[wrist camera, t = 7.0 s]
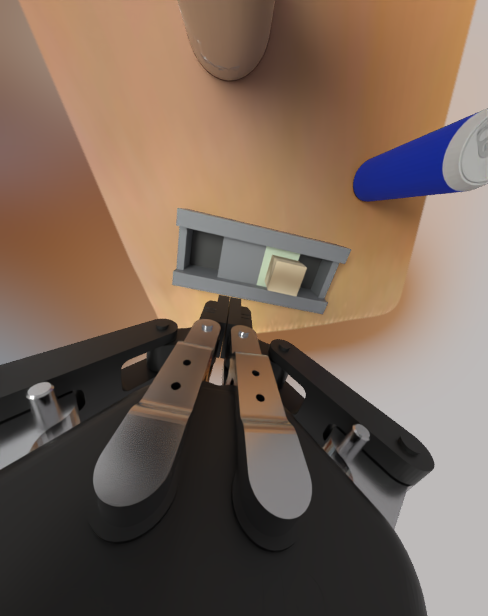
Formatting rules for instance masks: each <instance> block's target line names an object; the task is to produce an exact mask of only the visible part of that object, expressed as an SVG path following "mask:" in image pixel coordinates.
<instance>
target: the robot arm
mask: <svg viewBox="0 0 488 616" xmlns="http://www.w3.org/2000/svg"><path fill="white" fill-rule="evenodd" d="M177 1H178V5H179V8H180V11H181V15H182V18H183V21H184V25H185V28H186V31H187V35H188V38H189V41H190V44H191V46H192V49H193V51H194V53H195V55H196V57H197V59H198V60H199V62H200V63H201V64H202V66H203V67H204V68H205V69H206V70H207V71H208V72H210V73H211V74H212V75H213V76H215V77H218V78H220V79H223V80H229V81H230V80H238V79H240V78H242V77H244V76H246V75H247V74H249V73H250V72H251V71H252V70H253V69H254V68H255V67H256V66H257V64H258V63H259V62H260V60H261V58H262V56H263V54H264V52H265V50H266V47H267V44H268V41H269V35H270V29H271V24H272V17H273V11H274V5H275V0H177ZM229 299H230V302H229ZM222 342H223V343H222ZM221 347H222V350H221ZM146 352H147V358H146V359H144V360H142V361H139V362H137V363H135V364H133V365H130V366H128V367H126V368H124V369H121V367H122V365H123V364H124V363H125V362H126V361H128V360H129V359H132V358H134V357H136V356H139V355H141V354H144V353H146ZM220 352H221V358H224V364H223V369H222V385H221V386H218V385H214V384H212V383H209V379H210V376H211V373H212V369H213V364H214V363H215V360H216V357H217V358H219V356H220ZM288 374H289V375H290V376H291V377H292V378H293V379H294V380H296V381H297V382H298V383H299V384H300V385H301V386H302V387H303V388H304V390H305V392H306V398H305V399H304V398H303V397H302V396H301V395H300V394H299V393H298V392H297V391H296V390H295V389H294V388H293V387H292V386H290V385H289V384H288V383H287V382H286V378H287V376H288ZM433 469H434V461H433V458H432V456H431V454H430V453H429V451H428V450H427V448H426V447H425V446H424V445H423V444H422V443H421V442H420V441H419V440H418V439H417V438H416V437H415V436H413V435H412V434H411V433H409V432H408V431H407V430H405V429H404V428H403V427H401V426H400V425H399V424H397V423H396V422H395V421H393V420H392V419H391V418H389V417H388V416H387V415H385V414H384V413H383V412H381V411H380V410H379V409H377V408H376V407H375V406H373V405H372V404H371V403H369V402H368V401H367V400H365V399H364V398H363V397H361V396H360V395H359V394H357V393H356V392H355V391H353V390H352V389H351V388H349V387H348V386H347V385H345V384H344V383H343V382H342V381H340V380H339V379H338V378H336V377H335V376H333V375H332V374H331V373H330V372H328V371H327V370H325V369H324V368H323V367H322V366H320V365H319V364H318V363H316V362H315V361H314V360H312V359H311V358H310V357H308V356H307V355H306V354H304V353H303V352H302V351H300V350H299V349H298V348H296V347H295V346H294V345H292V344H291V343H289V342H287V341H285V340H280V339H276V340H273V341H272V342H271V344H267V343H265V342H262V341H260V340H259V339H258V338H257V334H256V332H255V331H254V330H253V329H252V320H251V311H250V310H249V309H248V308H247V307H242V306H241V299H237V298H232V297H231V298H230V297H227V296H222V295H219V298H218V302H216V301H211V300H210V301H208V302H207V303H206V304H205V306H204V309H203V312H202V314H201V317H200V319H199V320H197V321H196V322H195V323H194V324H193V326H192V327H191V328H181V329H178V326H177V324H176V323H175V322H174V321H172V320H169V319H156V320H152V321H149V322H145V323H142V324H139V325H135V326H132V327H128V328H125V329H122V330H118V331H115V332H111V333H108V334H105V335H101V336H98V337H94V338H91V339H87V340H84V341H81V342H77V343H74V344H71V345H67V346H64V347H60V348H57V349H54V350H50V351H47V352H43V353H40V354H37V355H33V356H30V357H26V358H23V359H20V360H16V361H13V362H10V363H6V364H3V365H0V616H427V611H426V606H425V602H424V597H423V593H422V589H421V586H420V583H419V580H418V577H417V575H416V572H415V569H414V566H413V564H412V562H411V560H410V558H409V555H408V553H407V551H406V550H405V548H404V546H403V544H402V542H401V540H400V539H399V537H398V535H397V534H396V533H395V531H394V528H395V525H396V522H397V519H398V516H399V512H400V509H401V506H402V503H403V500H404V497H405V494H406V492H407V491H408V490H409V489H411V488H412V487H413V486H414V485H415V484H416V483H417V482H419V481H420V480H421V479H422V478H424V477H425V476H426V475H427V474H428V473H430V472H431V471H432V470H433Z"/></svg>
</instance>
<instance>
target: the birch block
mask: <svg viewBox="0 0 488 616" xmlns="http://www.w3.org/2000/svg"><path fill="white" fill-rule="evenodd" d="M306 269H307V267H305V266H304V265H303V264H302V263H300V262H299V261H296V260H292V259H288V258H284V257H280V256H276V255H272V257H271V260H270V264H269V267H268V271H267V274H266V277H265V284H266V287H267V290H269V291H273V292H278V293H283V294H287V295H292V296H297V293H298V291H299V288H300V285H301V283H302V280H303V277H304V275H305V272H306Z"/></svg>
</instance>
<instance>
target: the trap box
mask: <svg viewBox="0 0 488 616" xmlns="http://www.w3.org/2000/svg"><path fill="white" fill-rule="evenodd" d="M176 225H177V226H180V227H179V241H178V255H177V269H175V270H174V271H173V283H172V285H176V286H181V287H186V288H191V289H197V290H202V291H207V292H212V293H217V294H222V295H227V296H232V297H237V298H242V299H247V300H253V301H258V302H263V303H268V304H273V305H278V306H283V307H288V308H293V309H298V310H303V311H309V312H314V313H319V314H323V313H324V311H325V308H326V306H327V304H328V302H327V301H326V300H325V299H324V298H325V296H326V293H327V291H328V289H329V286H330V284H331V282H332V279H333V277H334V274H335V272H336V270H337V267H338V265H339V263H343V264H345V263H346V260H347V258H348V256H349V254H350V251H351V249H349V248H346V247H342V246H339V245H336V244H332V243H328V242H324V241H320V240H316V239H311V238H307V237H303V236H299V235H295V234H290V233H286V232H282V231H278V230H274V229H269V228H265V227H261V226H257V225H253V224H248V223H244V222H240V221H236V220H232V219H227V218H223V217H219V216H215V215H211V214H206V213H202V212H198V211H194V210H190V209H182V208H177V222H176ZM272 255H276V256H280V257H284V258H288V259H292V260H296V261H299V262H300V263H302V264H303V265H304V266H305V267H307V269H306V272H305V275H304V277H303V280H302V283H301V285H300V288H299V291H298V293H297V296H292V295H287V294H283V293H278V292H273V291H269V290H267V287H266V284H265V277H266V274H267V271H268V267H269V264H270V260H271V257H272Z"/></svg>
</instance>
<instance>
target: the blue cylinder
mask: <svg viewBox="0 0 488 616" xmlns="http://www.w3.org/2000/svg"><path fill="white" fill-rule="evenodd" d="M486 184H488V108H487V109H485V110H482V111H480V112H478V113H475V114H474V115H471V116H468V117H466V118H464V119H461V120H459V121H457V122H454V123H452V124H450V125H448V126H445V127H443V128H441V129H438V130H436V131H434V132H431V133H429V134H427V135H424V136H422V137H420V138H417V139H415V140H413V141H410V142H408V143H406V144H403V145H401V146H399V147H397V148H394V149H392V150H390V151H387V152H385V153H383V154H380V155H378V156H376V157H373V158H371V159H369V160H367V161H366V162H364V163H363V164H362V165H361V166H360V168H359V169H358V171H357V172H356V175H355V177H354V181H353V189H354V193H355V195H356V196H357V197H358V198H359V199H360V200H362V201H378V200H387V199H397V198H407V197H416V196H426V195H435V194H445V193H454V192H463V191H470V190H473V189H476V188H479V187H481V186H483V185H486Z"/></svg>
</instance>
